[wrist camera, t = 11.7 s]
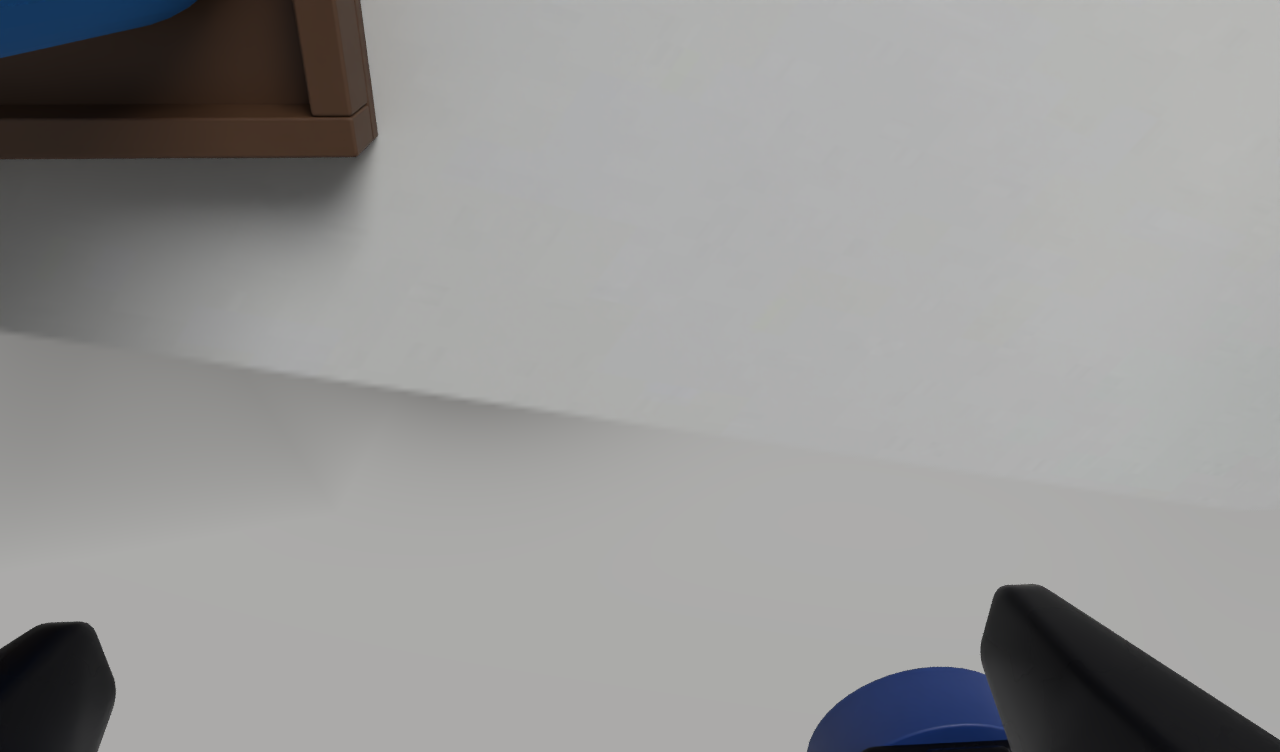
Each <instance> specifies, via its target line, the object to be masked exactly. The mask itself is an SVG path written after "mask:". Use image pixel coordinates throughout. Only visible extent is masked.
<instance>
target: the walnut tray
mask: <svg viewBox="0 0 1280 752" xmlns="http://www.w3.org/2000/svg"><path fill="white" fill-rule="evenodd" d="M377 136H378V132H377V124H376V117H375V109H374V102H373V94H372V87H371V79H370V71H369V64H368V56H367V49H366V41H365V34H364V26H363V19H362V11H361V4H360V0H197V1H196V2H195V3H194V4H192V5H191V6H190V7H189V8H187V9H185V10H183V11H181V12H180V13H178V14H176V15H174V16H172V17H171V18H168V19H165V20H163V21H160V22H157V23H154V24H152V25H148V26H143V27H139V28H134V29H130V30H125V31H121V32H116V33H112V34H107V35H103V36H98V37H94V38H89V39H85V40H80V41H75V42H71V43H66V44H62V45H57V46H53V47H48V48H44V49H39V50H35V51H30V52H26V53H21V54H17V55H12V56H8V57H3V58H0V159H136V158H321V157H357V156H358V155H359V154H360V153H361V152H362V151H363V150H364V149H365V148H366V147H367V146H368V145H369V144H370V143H371V142H372V141H373V140H374V139H375V138H376V137H377Z"/></svg>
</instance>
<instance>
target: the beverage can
mask: <svg viewBox="0 0 1280 752" xmlns="http://www.w3.org/2000/svg"><path fill="white" fill-rule="evenodd" d="M196 1H197V0H0V58H3V57H8V56H12V55H17V54H21V53H26V52H30V51H35V50H39V49H44V48H48V47H53V46H57V45H62V44H66V43H71V42H75V41H80V40H85V39H89V38H94V37H98V36H103V35H107V34H112V33H116V32H121V31H125V30H130V29H134V28H139V27H143V26H148V25H152V24H154V23H157V22H160V21H163V20H165V19H168V18H171V17H172V16H174V15H176V14H178V13H180V12H181V11H183V10H185V9H187V8H189V7H190V6H191V5H192V4H194V3H195V2H196Z"/></svg>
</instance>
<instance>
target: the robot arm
mask: <svg viewBox="0 0 1280 752" xmlns="http://www.w3.org/2000/svg"><path fill="white" fill-rule="evenodd" d="M981 661H982V665H983V668H984V672H985V675H986V678H987V681H988V684H989V687H990V689H991V692H992V695H993V698H994V701H995V704H996V707H997V710H998V713H999V716H1000V719H1001V722H1002V724H1003V727H1004V730H1005V733H1006V736H1007V739H1008V740H992V741H972V742H953V743H933V744H914V745H894V746H875V747H869V748H867V749H865V750H863V751H862V752H1280V740H1279V739H1277V738H1276V737H1274V736H1273V735H1271V734H1270V733H1268V732H1267V731H1265V730H1264V729H1262V728H1261V727H1259V726H1257V725H1256V724H1254V723H1253V722H1251V721H1250V720H1248V719H1246V718H1245V717H1244V716H1242V715H1241V714H1239V713H1237V712H1236V711H1234V710H1233V709H1231V708H1230V707H1228V706H1227V705H1225V704H1223V703H1222V702H1220V701H1219V700H1217V699H1216V698H1214V697H1213V696H1211V695H1210V694H1208V693H1206V692H1205V691H1204V690H1202V689H1201V688H1199V687H1197V686H1196V685H1194V684H1193V683H1191V682H1190V681H1188V680H1187V679H1185V678H1184V677H1182V676H1181V675H1179V674H1177V673H1176V672H1174V671H1173V670H1171V669H1170V668H1168V667H1167V666H1165V665H1163V664H1162V663H1161V662H1159V661H1157V660H1156V659H1154V658H1153V657H1151V656H1150V655H1148V654H1147V653H1145V652H1143V651H1142V650H1141V649H1139V648H1137V647H1136V646H1134V645H1133V644H1131V643H1129V642H1128V641H1127V640H1125V639H1124V638H1122V637H1121V636H1119V635H1117V634H1116V633H1114V632H1113V631H1111V630H1110V629H1108V628H1107V627H1105V626H1103V625H1102V624H1101V623H1099V622H1097V621H1096V620H1094V619H1093V618H1091V617H1090V616H1088V615H1087V614H1085V613H1084V612H1082V611H1080V610H1079V609H1077V608H1076V607H1074V606H1073V605H1071V604H1070V603H1068V602H1067V601H1065V600H1064V599H1062V598H1060V597H1059V596H1057V595H1056V594H1054V593H1053V592H1051V591H1050V590H1048V589H1046V588H1045V587H1043V586H1040V585H1036V584H1024V585H1005V586H1002V587H1000V588H999V589H998V590H997V591H996V592H995V594H994V597H993V601H992V604H991V608H990V611H989V615H988V619H987V622H986V626H985V630H984V633H983V637H982V641H981ZM115 695H116V688H115V681H114V678H113V675H112V672H111V670H110V667H109V665H108V662H107V660H106V657H105V655H104V652H103V650H102V647H101V644H100V642H99V639H98V637H97V634H96V632H95V630H94V628H93V627H91V626H90V625H89V624H88V623H84V622H57V623H56V622H55V623H45V624H41V625H38V626H36V627H34V628H32V629H31V630H29V631H28V632H26V633H24V634H23V635H21V636H20V637H18V638H17V639H15V640H13V641H12V642H10V643H9V644H7V645H6V646H4V647H3V648H1V649H0V752H97V751H98V748H99V746H100V743H101V740H102V738H103V735H104V732H105V729H106V726H107V723H108V721H109V718H110V715H111V712H112V709H113V706H114V702H115Z"/></svg>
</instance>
